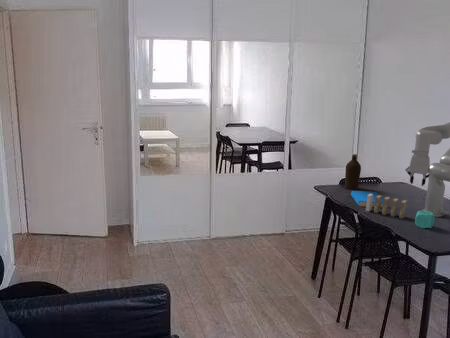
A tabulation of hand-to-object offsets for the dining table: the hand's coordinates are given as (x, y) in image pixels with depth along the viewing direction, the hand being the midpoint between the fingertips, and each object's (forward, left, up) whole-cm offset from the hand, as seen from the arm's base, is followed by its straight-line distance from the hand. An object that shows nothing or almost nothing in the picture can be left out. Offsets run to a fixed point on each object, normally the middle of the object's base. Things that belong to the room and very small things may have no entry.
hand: (417, 184), depth 269 cm
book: (+33, -19, -22) cm, 44 cm away
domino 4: (+6, 0, -21) cm, 22 cm away
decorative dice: (-8, +8, -22) cm, 25 cm away
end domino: (+26, 0, -21) cm, 34 cm away
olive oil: (+53, -44, -22) cm, 72 cm away
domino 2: (+16, 0, -21) cm, 27 cm away
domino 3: (+11, 0, -21) cm, 24 cm away
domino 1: (+21, 0, -21) cm, 30 cm away
